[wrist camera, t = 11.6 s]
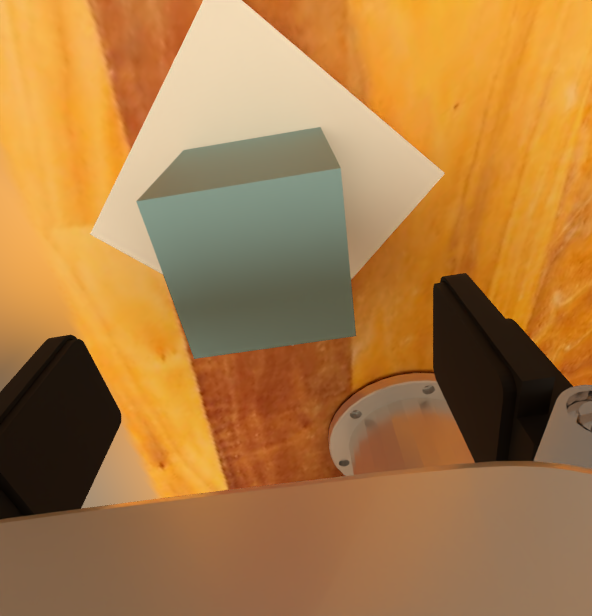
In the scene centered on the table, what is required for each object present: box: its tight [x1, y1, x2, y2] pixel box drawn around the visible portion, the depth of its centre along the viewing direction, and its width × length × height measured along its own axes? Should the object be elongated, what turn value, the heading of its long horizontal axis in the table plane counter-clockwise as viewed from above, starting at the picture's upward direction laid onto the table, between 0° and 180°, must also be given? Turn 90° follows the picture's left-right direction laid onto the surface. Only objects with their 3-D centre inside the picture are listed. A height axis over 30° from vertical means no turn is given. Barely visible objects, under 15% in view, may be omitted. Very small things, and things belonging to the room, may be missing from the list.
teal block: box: [136, 127, 356, 359], centre depth 16 cm, size 6×6×7 cm
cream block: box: [90, 0, 445, 346], centre depth 21 cm, size 12×12×4 cm
